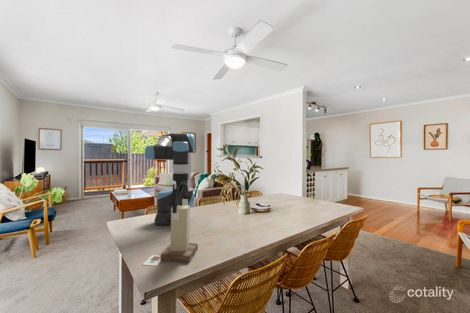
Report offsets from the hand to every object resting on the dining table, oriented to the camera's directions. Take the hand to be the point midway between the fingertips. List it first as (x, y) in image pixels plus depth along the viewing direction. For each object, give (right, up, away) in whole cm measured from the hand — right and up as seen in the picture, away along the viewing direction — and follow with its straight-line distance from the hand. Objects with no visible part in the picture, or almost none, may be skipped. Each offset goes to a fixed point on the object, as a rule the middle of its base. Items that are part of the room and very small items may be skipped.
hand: (180, 215), depth 106 cm
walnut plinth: (0, -20, 0) cm, 20 cm away
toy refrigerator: (0, -17, +1) cm, 17 cm away
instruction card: (-11, -20, -6) cm, 23 cm away
